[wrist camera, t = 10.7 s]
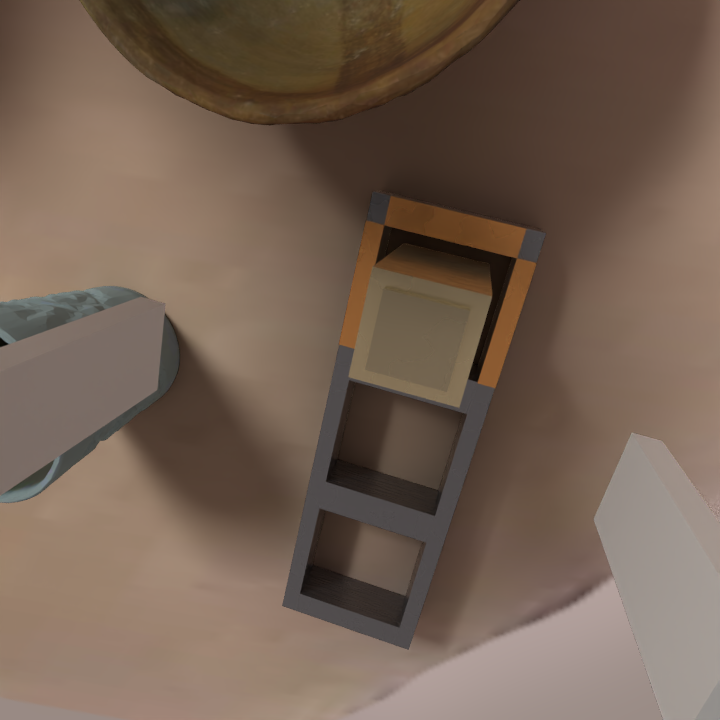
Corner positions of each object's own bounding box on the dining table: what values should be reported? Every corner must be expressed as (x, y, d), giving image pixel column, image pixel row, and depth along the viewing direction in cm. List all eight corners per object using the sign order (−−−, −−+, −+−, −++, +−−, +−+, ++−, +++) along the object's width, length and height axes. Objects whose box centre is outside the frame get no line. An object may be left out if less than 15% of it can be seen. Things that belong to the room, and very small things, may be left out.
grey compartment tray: (382, 190, 31) (372, 191, 28) (540, 229, 30) (546, 233, 27) (296, 577, 41) (281, 607, 38) (413, 617, 40) (408, 652, 37)
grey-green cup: (191, 422, 39) (73, 518, 28) (64, 404, 41) (-94, 488, 29) (184, 278, 36) (47, 321, 24) (47, 266, 37) (-139, 300, 26)
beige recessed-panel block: (404, 243, 32) (370, 268, 22) (489, 263, 31) (492, 298, 22) (385, 324, 34) (346, 379, 24) (465, 345, 33) (458, 411, 23)
